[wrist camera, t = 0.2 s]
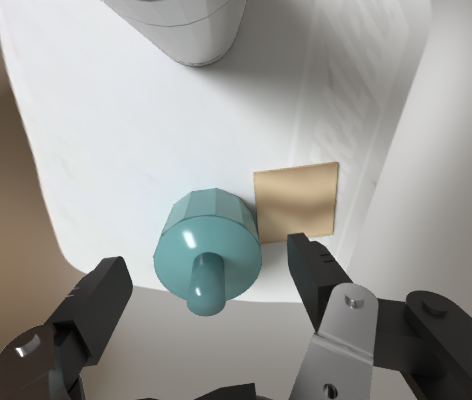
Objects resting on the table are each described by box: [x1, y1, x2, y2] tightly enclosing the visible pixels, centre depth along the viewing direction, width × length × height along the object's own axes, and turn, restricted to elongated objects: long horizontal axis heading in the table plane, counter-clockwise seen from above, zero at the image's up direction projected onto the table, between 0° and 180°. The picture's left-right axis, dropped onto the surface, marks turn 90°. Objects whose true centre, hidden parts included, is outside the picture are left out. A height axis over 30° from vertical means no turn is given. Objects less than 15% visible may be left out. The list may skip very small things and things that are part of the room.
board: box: [253, 162, 338, 244], centre depth 30 cm, size 11×11×1 cm
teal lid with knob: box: [153, 188, 262, 316], centre depth 26 cm, size 12×12×13 cm
